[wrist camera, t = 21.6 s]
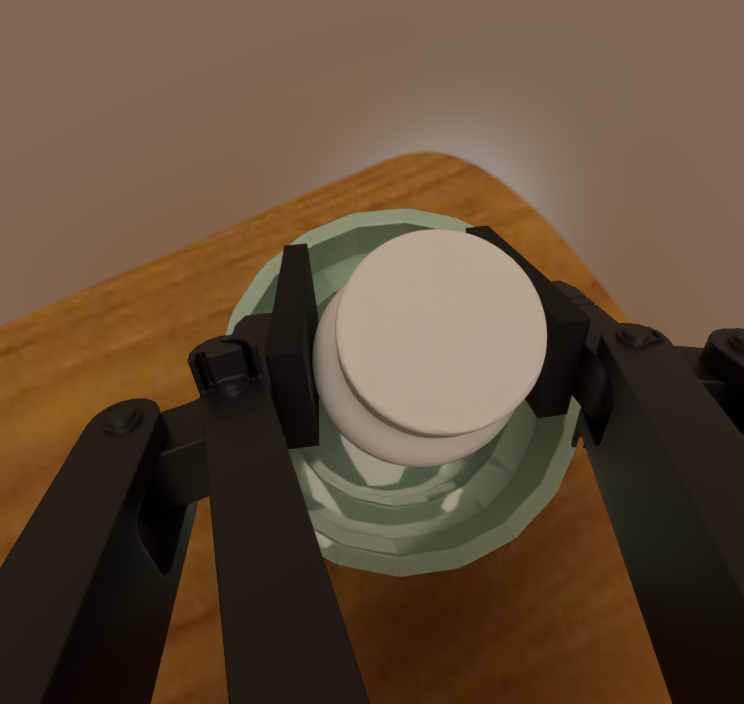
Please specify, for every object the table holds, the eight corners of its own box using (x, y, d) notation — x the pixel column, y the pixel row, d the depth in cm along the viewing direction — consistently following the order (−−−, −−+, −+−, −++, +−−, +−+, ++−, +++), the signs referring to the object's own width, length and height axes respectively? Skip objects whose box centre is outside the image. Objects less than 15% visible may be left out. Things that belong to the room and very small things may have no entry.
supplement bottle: (481, 429, 17) (639, 417, 8) (355, 478, 17) (350, 532, 7) (431, 308, 18) (514, 160, 8) (310, 350, 18) (253, 244, 8)
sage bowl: (263, 556, 17) (227, 603, 13) (244, 278, 20) (208, 225, 15) (549, 516, 18) (621, 545, 13) (498, 252, 21) (543, 194, 16)
